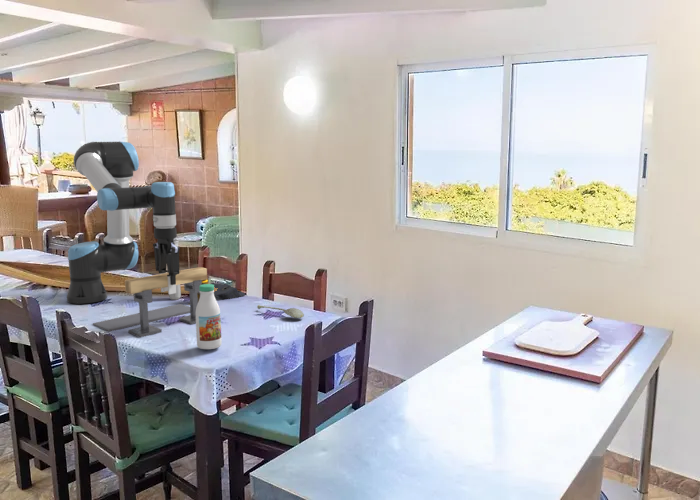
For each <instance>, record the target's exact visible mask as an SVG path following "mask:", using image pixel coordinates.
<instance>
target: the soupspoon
mask: <svg viewBox="0 0 700 500" xmlns="http://www.w3.org/2000/svg"><path fill="white" fill-rule="evenodd" d="M256 308H257V309H258V310H260V309H264V308H265V309H272V310H278V311H282V312H283V313H284V314H286V315H288V316H289V317H291V318H294V319H295V318H296V319H301V318H303V317H304V316H305V314H304V312H303V311H302V310H301V309H299V308H295V307H290V308H288V309H284V308H279V307H274V306H272V307H271V306H267V305H266V306H265V305H261V304H258V305H257V307H256Z"/></svg>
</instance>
